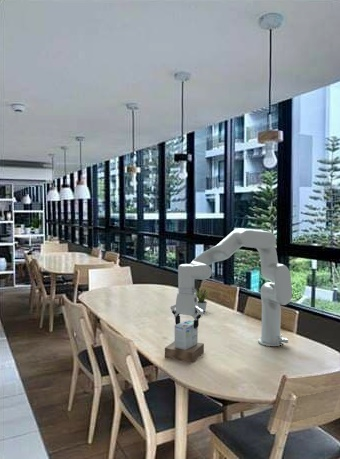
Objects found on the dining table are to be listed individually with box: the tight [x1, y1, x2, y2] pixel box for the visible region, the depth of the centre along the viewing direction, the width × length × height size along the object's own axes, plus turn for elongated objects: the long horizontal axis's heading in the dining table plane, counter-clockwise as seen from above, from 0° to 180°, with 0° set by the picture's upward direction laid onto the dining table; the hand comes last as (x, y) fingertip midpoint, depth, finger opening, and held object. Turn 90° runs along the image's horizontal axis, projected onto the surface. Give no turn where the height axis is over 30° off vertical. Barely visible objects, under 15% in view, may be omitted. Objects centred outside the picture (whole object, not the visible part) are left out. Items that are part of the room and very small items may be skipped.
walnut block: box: [164, 340, 205, 363], centre depth 182 cm, size 14×14×5 cm
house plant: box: [195, 287, 213, 312], centre depth 262 cm, size 14×14×16 cm
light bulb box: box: [174, 319, 199, 350], centre depth 182 cm, size 11×7×11 cm, turn 144°
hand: (186, 326), depth 182 cm, fingers open, 9 cm apart
